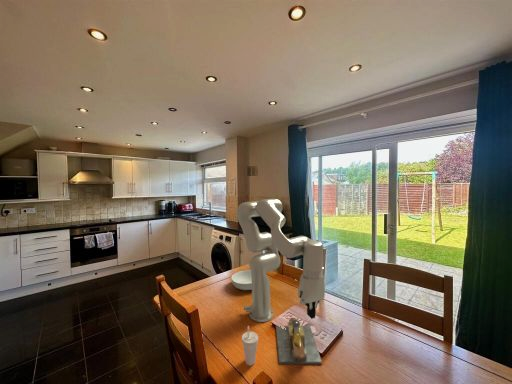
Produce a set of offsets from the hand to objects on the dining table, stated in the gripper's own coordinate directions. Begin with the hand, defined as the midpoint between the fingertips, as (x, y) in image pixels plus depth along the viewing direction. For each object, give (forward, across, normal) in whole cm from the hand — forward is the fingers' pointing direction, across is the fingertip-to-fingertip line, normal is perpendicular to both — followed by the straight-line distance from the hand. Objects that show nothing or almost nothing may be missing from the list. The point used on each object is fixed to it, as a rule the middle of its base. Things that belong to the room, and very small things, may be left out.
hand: (311, 316), depth 84 cm
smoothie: (+15, +24, -5) cm, 29 cm away
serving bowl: (+18, +5, -62) cm, 65 cm away
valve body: (+15, +3, -5) cm, 16 cm away
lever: (+8, +6, -1) cm, 10 cm away
